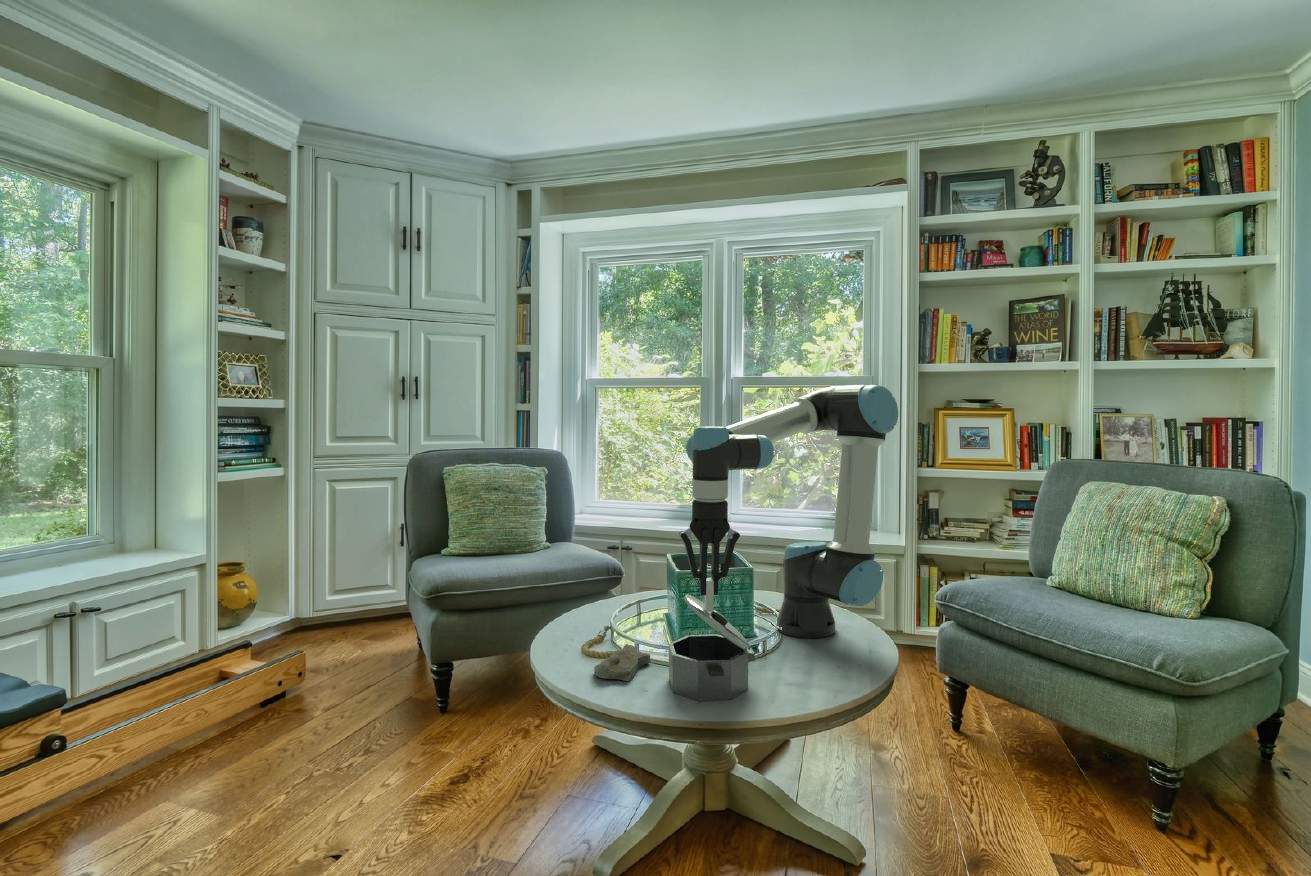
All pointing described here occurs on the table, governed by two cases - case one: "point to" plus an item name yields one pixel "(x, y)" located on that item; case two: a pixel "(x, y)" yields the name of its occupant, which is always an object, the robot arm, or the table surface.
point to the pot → (708, 667)
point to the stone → (622, 664)
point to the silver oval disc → (717, 622)
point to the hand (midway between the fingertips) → (708, 609)
